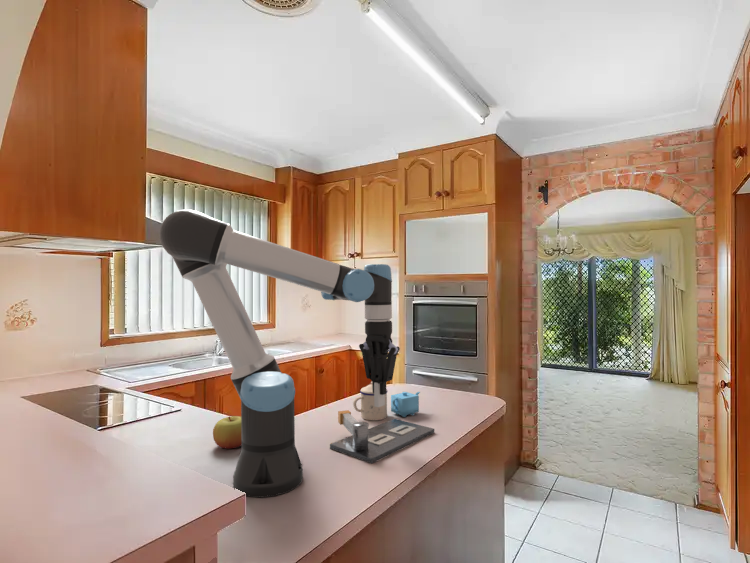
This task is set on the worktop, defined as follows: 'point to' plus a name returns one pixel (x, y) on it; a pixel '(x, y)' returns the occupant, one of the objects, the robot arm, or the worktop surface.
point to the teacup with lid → (370, 405)
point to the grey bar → (355, 429)
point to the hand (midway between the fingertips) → (379, 405)
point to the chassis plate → (384, 440)
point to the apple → (228, 432)
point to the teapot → (405, 403)
